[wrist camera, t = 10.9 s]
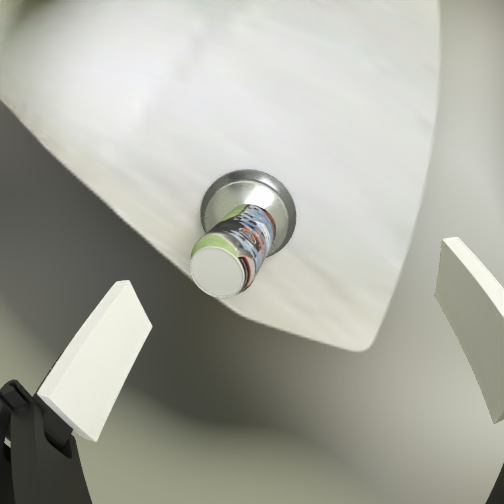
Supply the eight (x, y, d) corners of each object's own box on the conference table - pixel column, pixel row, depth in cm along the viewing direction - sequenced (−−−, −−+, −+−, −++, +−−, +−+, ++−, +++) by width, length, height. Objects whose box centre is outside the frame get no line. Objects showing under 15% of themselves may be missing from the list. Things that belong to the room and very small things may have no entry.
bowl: (190, 181, 36) (183, 187, 33) (285, 160, 33) (284, 164, 31) (217, 263, 41) (213, 273, 39) (303, 249, 38) (304, 259, 36)
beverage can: (272, 251, 36) (264, 315, 26) (214, 242, 36) (183, 301, 26) (280, 203, 33) (275, 253, 22) (217, 194, 33) (183, 238, 23)
